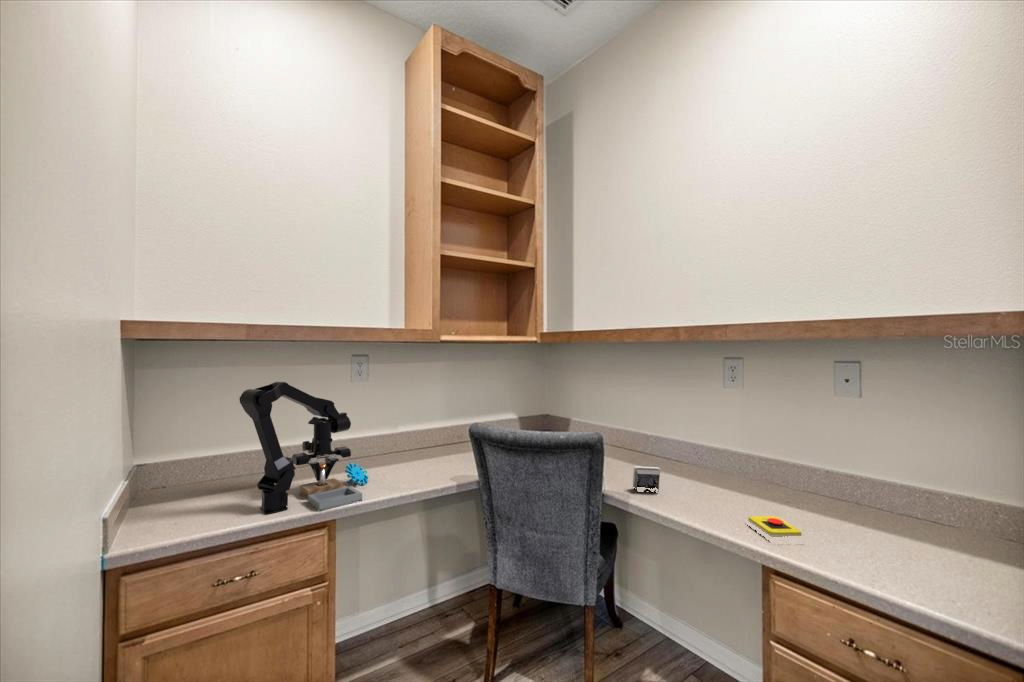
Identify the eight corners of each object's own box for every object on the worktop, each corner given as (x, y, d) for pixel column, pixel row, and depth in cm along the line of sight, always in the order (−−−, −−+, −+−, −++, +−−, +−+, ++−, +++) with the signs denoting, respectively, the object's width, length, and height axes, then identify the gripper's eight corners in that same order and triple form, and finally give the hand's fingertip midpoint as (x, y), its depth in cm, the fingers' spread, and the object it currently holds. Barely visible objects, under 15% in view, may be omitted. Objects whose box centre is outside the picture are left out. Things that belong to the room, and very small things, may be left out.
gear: (356, 485, 158) (343, 463, 162) (346, 495, 159) (332, 473, 163) (376, 480, 169) (363, 460, 172) (366, 490, 169) (353, 469, 173)
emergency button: (773, 530, 118) (742, 509, 133) (773, 546, 117) (742, 523, 132) (807, 530, 118) (772, 509, 133) (807, 546, 118) (772, 523, 133)
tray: (319, 511, 138) (319, 503, 138) (308, 502, 145) (308, 495, 145) (362, 500, 147) (362, 493, 147) (349, 493, 155) (349, 486, 155)
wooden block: (307, 499, 148) (308, 490, 148) (299, 493, 153) (299, 485, 154) (343, 491, 156) (343, 483, 156) (334, 486, 162) (334, 478, 162)
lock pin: (318, 495, 152) (318, 466, 152) (314, 492, 155) (315, 464, 155) (328, 492, 155) (328, 464, 155) (324, 490, 157) (325, 462, 157)
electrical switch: (658, 490, 161) (659, 465, 161) (661, 496, 156) (662, 470, 156) (632, 488, 163) (632, 464, 162) (634, 495, 158) (634, 469, 157)
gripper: (339, 428, 167) (338, 470, 167) (286, 435, 154) (285, 480, 154) (352, 433, 159) (351, 476, 159) (297, 440, 146) (296, 487, 146)
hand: (321, 479), depth 155 cm, fingers closed on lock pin, 3 cm apart
